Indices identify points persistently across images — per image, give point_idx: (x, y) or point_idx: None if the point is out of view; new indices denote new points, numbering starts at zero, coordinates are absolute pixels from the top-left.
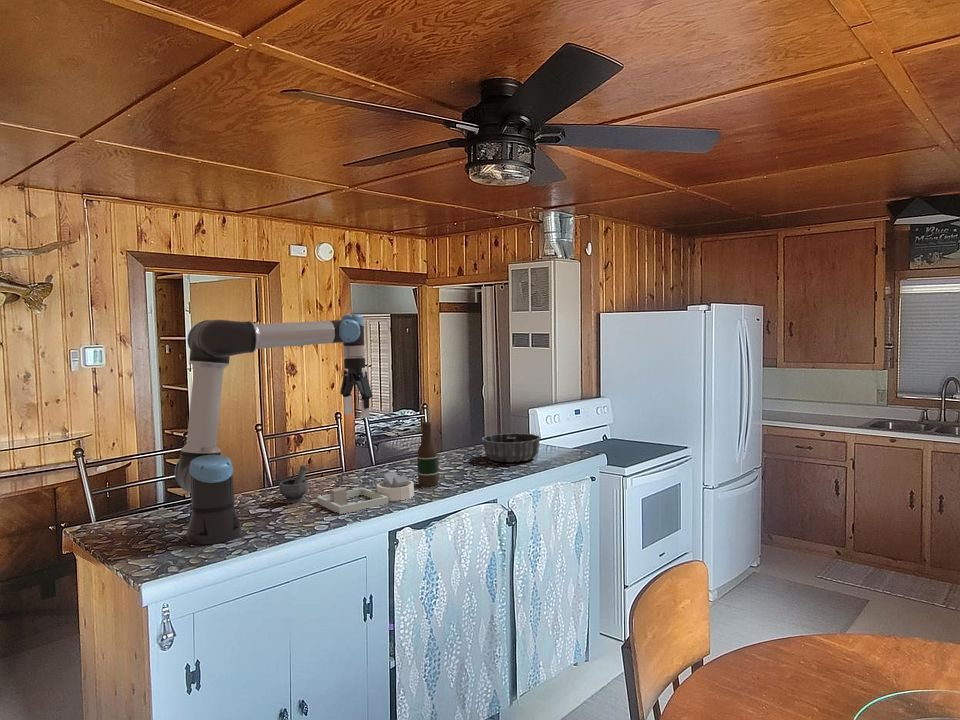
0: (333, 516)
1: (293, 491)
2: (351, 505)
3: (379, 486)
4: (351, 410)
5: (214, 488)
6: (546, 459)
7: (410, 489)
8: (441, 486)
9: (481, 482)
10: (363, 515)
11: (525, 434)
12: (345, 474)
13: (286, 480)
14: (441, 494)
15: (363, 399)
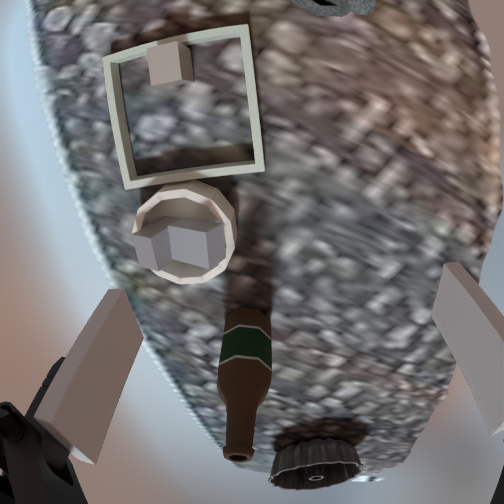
0: (105, 43)
1: None
2: (107, 87)
3: (176, 193)
4: (443, 332)
5: None
6: None
7: None
8: (215, 333)
9: (201, 384)
10: (77, 106)
11: (324, 486)
12: (479, 222)
13: None
14: (152, 305)
15: (16, 417)
